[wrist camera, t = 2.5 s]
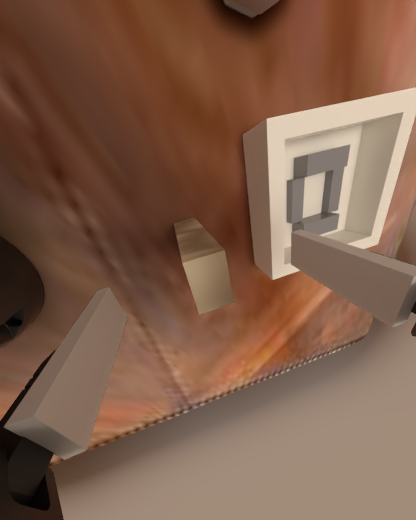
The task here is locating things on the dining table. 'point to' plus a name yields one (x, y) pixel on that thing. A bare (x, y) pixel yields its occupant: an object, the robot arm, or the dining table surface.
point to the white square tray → (325, 174)
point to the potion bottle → (249, 6)
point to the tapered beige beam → (204, 266)
